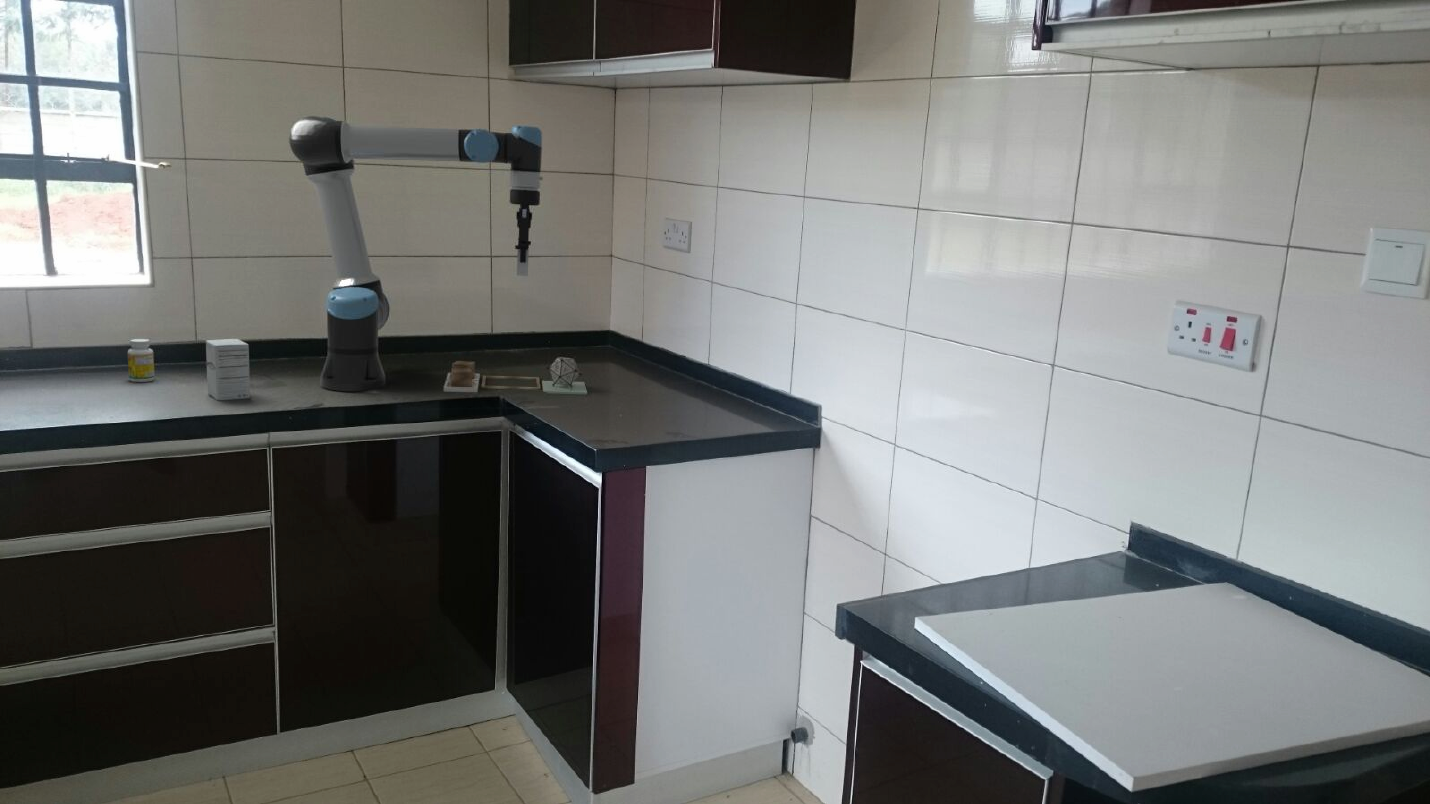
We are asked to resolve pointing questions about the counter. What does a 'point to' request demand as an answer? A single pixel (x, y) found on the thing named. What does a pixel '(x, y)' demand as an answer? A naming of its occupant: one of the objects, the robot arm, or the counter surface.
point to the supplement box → (228, 369)
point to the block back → (465, 366)
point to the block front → (461, 378)
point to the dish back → (477, 378)
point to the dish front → (461, 389)
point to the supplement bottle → (140, 361)
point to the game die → (564, 371)
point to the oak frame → (511, 387)
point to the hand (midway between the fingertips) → (522, 272)
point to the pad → (564, 388)
